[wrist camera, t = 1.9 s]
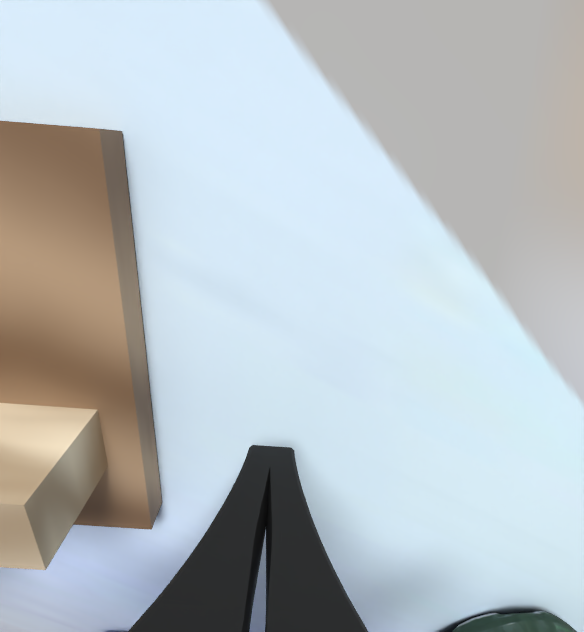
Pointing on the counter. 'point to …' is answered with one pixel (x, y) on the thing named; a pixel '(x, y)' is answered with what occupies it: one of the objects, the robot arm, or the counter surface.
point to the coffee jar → (515, 623)
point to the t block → (45, 478)
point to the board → (77, 303)
